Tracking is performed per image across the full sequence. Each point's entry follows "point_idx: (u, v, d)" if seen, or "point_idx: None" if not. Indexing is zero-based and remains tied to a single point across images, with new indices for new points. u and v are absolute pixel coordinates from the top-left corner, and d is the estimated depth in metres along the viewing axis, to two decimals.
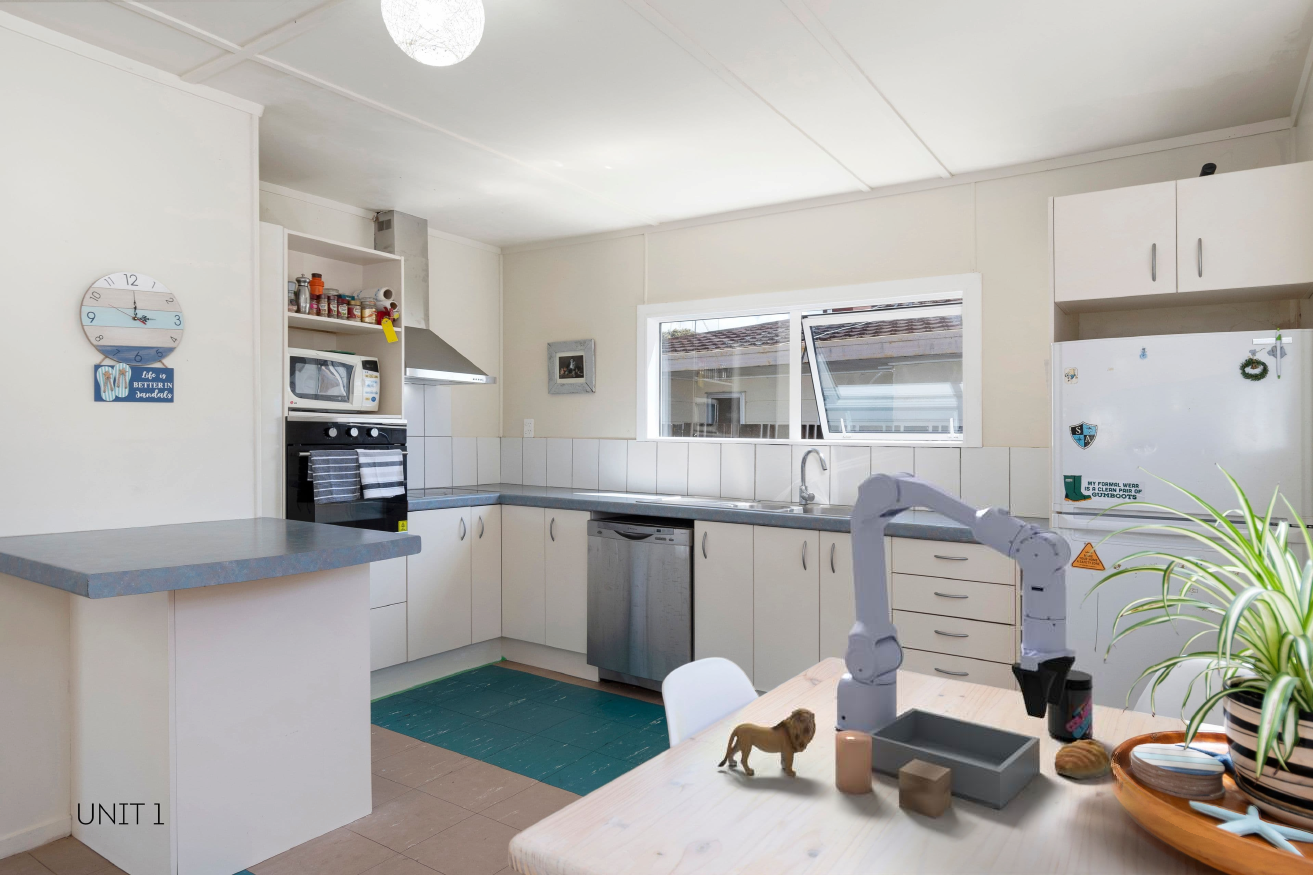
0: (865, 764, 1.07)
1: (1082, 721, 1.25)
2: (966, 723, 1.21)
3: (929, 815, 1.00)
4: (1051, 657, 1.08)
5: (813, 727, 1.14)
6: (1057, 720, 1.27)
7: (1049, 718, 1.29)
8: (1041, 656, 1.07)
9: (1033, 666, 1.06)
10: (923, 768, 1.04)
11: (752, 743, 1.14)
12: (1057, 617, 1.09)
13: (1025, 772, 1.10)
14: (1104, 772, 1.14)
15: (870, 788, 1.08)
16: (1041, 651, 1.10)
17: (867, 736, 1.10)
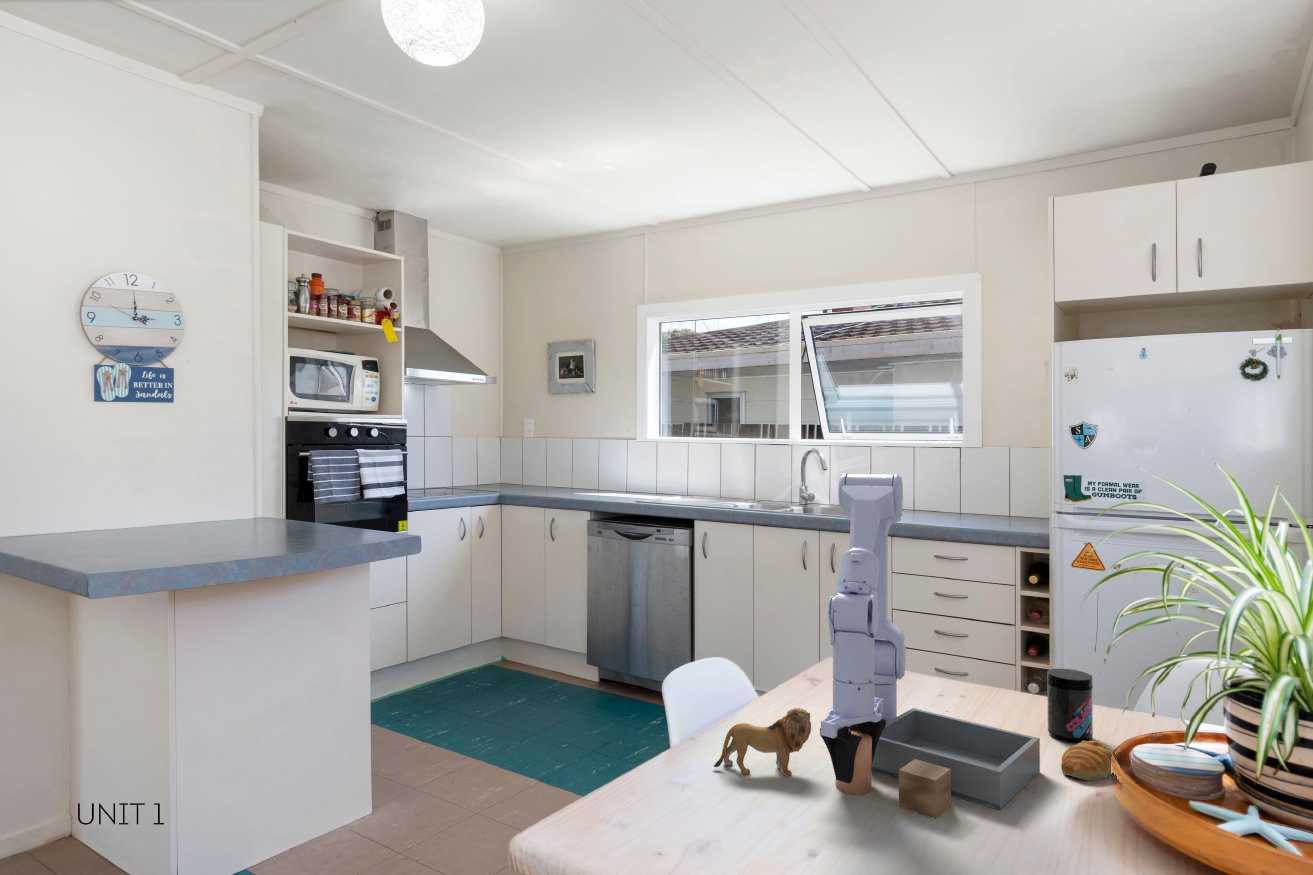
0: (865, 763, 1.07)
1: (1082, 721, 1.25)
2: (966, 723, 1.21)
3: (929, 815, 1.00)
4: (854, 723, 1.06)
5: (809, 727, 1.14)
6: (1057, 720, 1.27)
7: (1049, 718, 1.29)
8: (841, 722, 1.05)
9: (831, 733, 1.04)
10: (923, 768, 1.04)
11: (748, 743, 1.14)
12: (839, 678, 1.08)
13: (1025, 772, 1.10)
14: (1110, 773, 1.13)
15: (870, 788, 1.08)
16: (846, 716, 1.07)
17: (867, 736, 1.10)
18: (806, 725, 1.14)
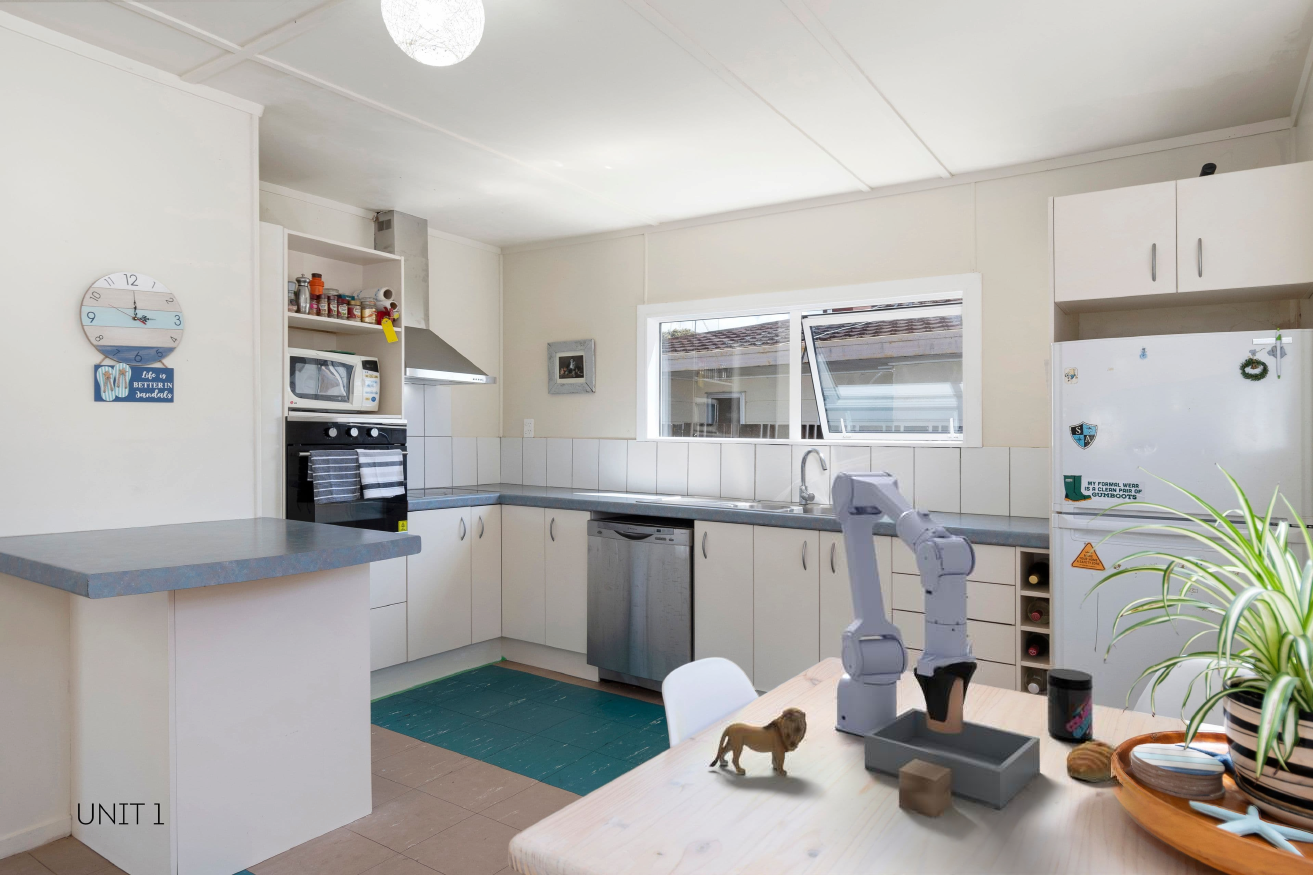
0: (958, 703, 1.09)
1: (1082, 721, 1.25)
2: (966, 723, 1.21)
3: (929, 815, 1.00)
4: (949, 662, 1.08)
5: (804, 726, 1.14)
6: (1057, 720, 1.27)
7: (1049, 718, 1.29)
8: (937, 661, 1.07)
9: (928, 671, 1.06)
10: (924, 768, 1.04)
11: (743, 743, 1.14)
12: (945, 622, 1.09)
13: (1025, 772, 1.10)
14: None
15: (962, 727, 1.10)
16: (940, 656, 1.09)
17: (957, 677, 1.12)
18: (801, 725, 1.14)
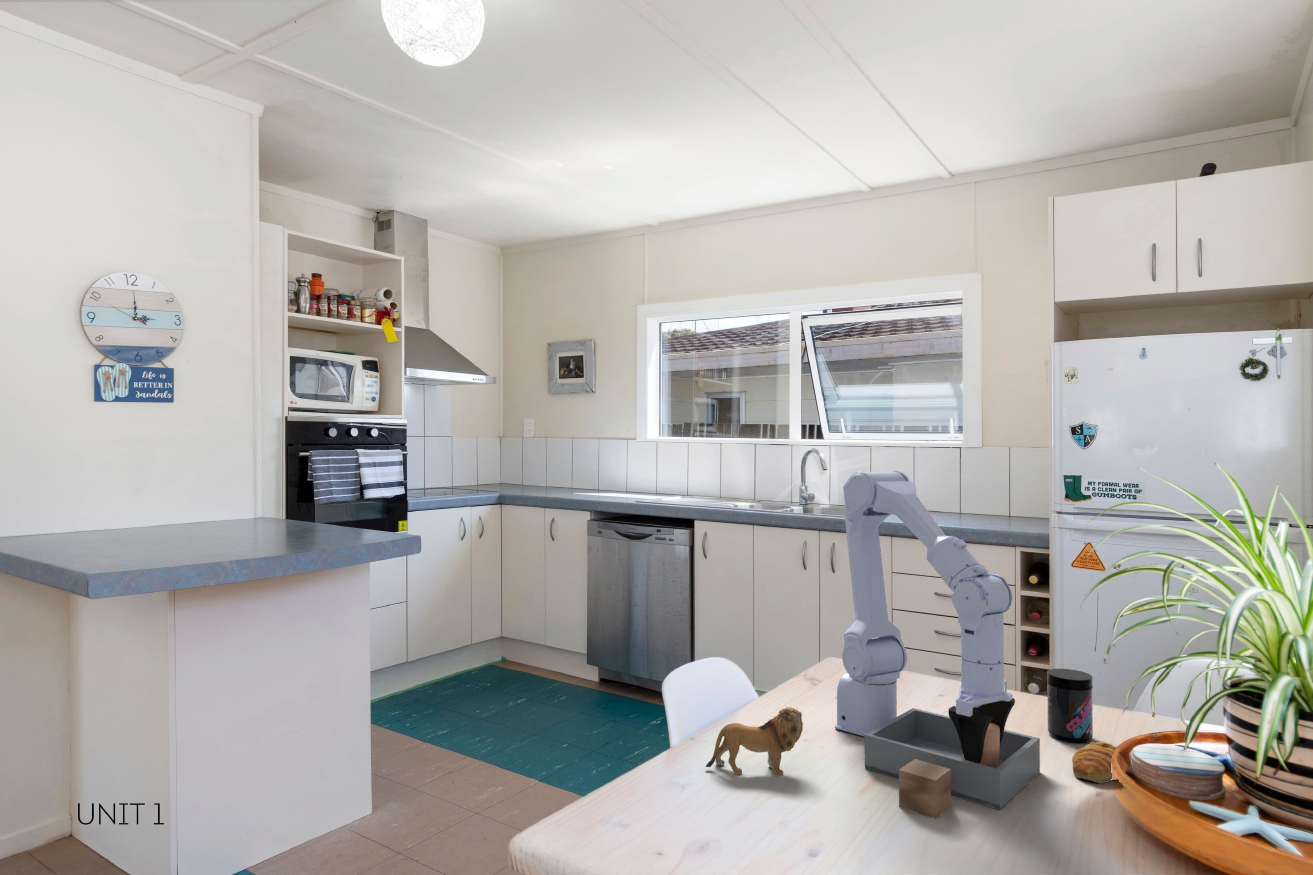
0: (996, 751, 1.10)
1: (1082, 721, 1.25)
2: None
3: (929, 815, 1.00)
4: (987, 702, 1.08)
5: (800, 726, 1.14)
6: (1057, 720, 1.27)
7: (1049, 718, 1.29)
8: (976, 701, 1.07)
9: (968, 712, 1.06)
10: (924, 768, 1.04)
11: (740, 743, 1.14)
12: (988, 661, 1.09)
13: (1025, 772, 1.10)
14: None
15: None
16: (978, 695, 1.10)
17: (993, 724, 1.12)
18: (798, 724, 1.14)
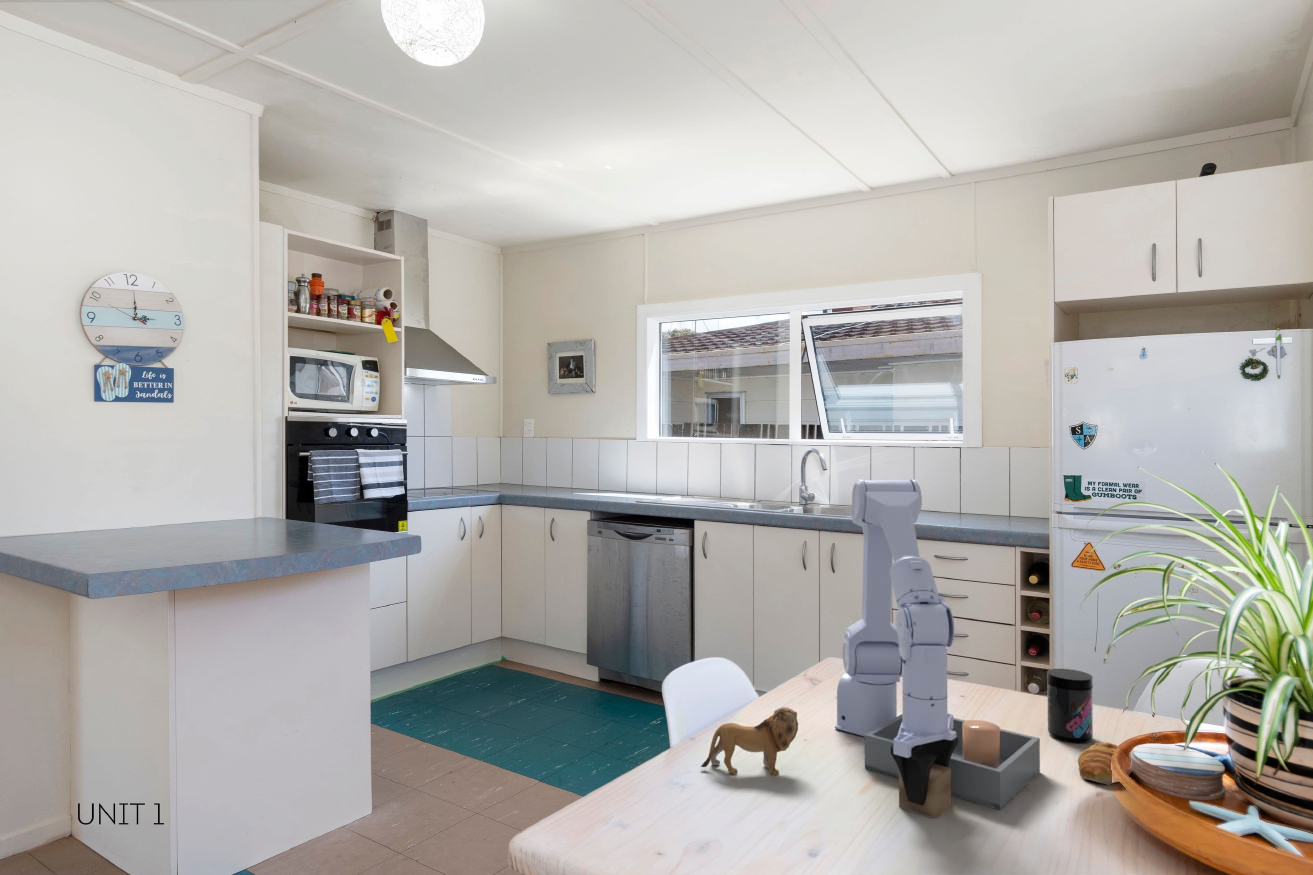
0: (996, 751, 1.10)
1: (1082, 721, 1.25)
2: None
3: (929, 814, 1.00)
4: (928, 741, 1.00)
5: (796, 726, 1.14)
6: (1057, 720, 1.27)
7: (1049, 718, 1.29)
8: (915, 741, 0.99)
9: (905, 752, 0.98)
10: None
11: (735, 743, 1.14)
12: (917, 695, 1.01)
13: (1025, 772, 1.10)
14: None
15: None
16: (918, 733, 1.01)
17: (993, 724, 1.12)
18: (793, 724, 1.14)
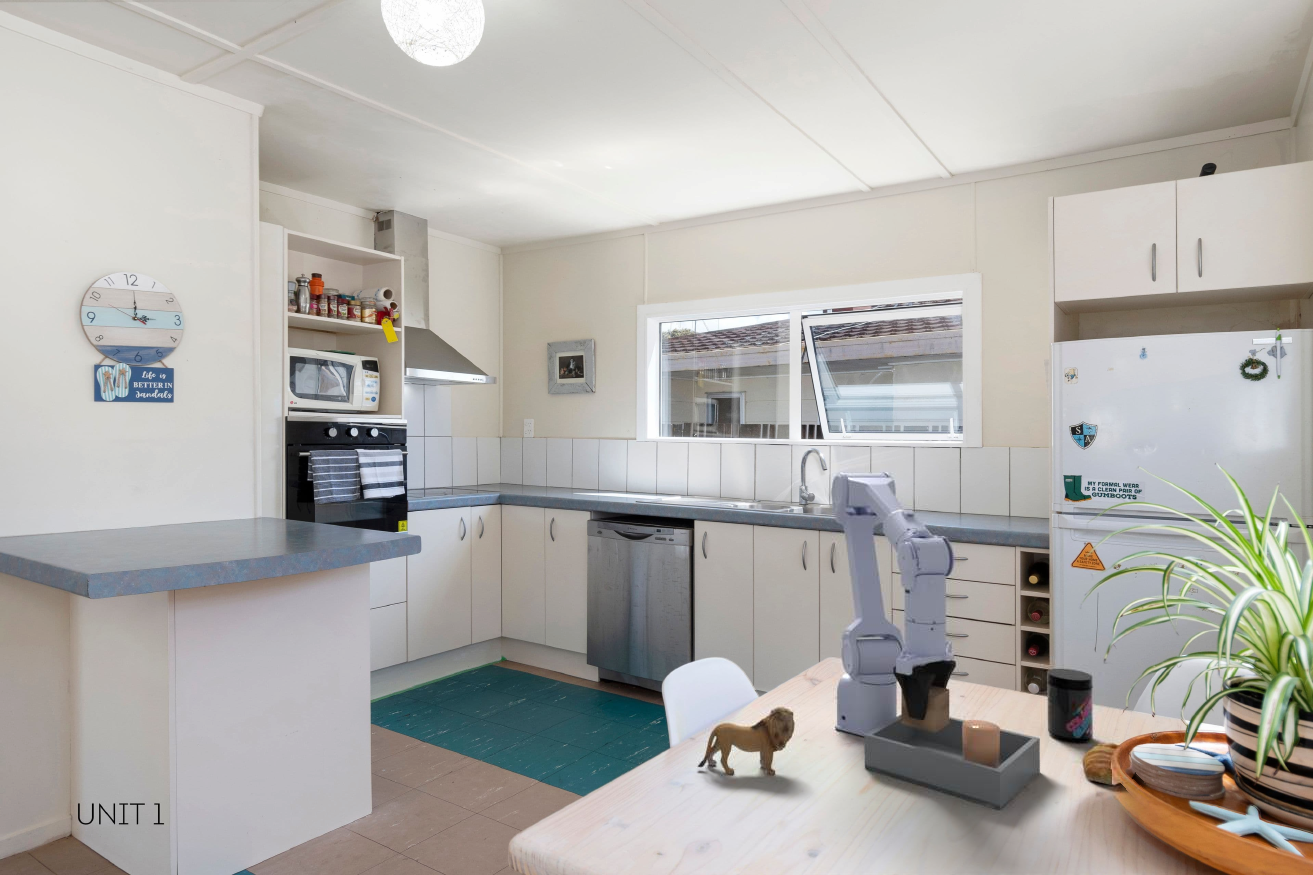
0: (996, 751, 1.10)
1: (1082, 721, 1.25)
2: None
3: (929, 729, 1.09)
4: (927, 661, 1.09)
5: (792, 725, 1.15)
6: (1057, 720, 1.27)
7: (1049, 718, 1.29)
8: (916, 660, 1.08)
9: (907, 670, 1.07)
10: None
11: (732, 743, 1.14)
12: (921, 621, 1.10)
13: (1025, 772, 1.10)
14: None
15: None
16: (919, 655, 1.10)
17: (993, 724, 1.12)
18: (790, 724, 1.14)
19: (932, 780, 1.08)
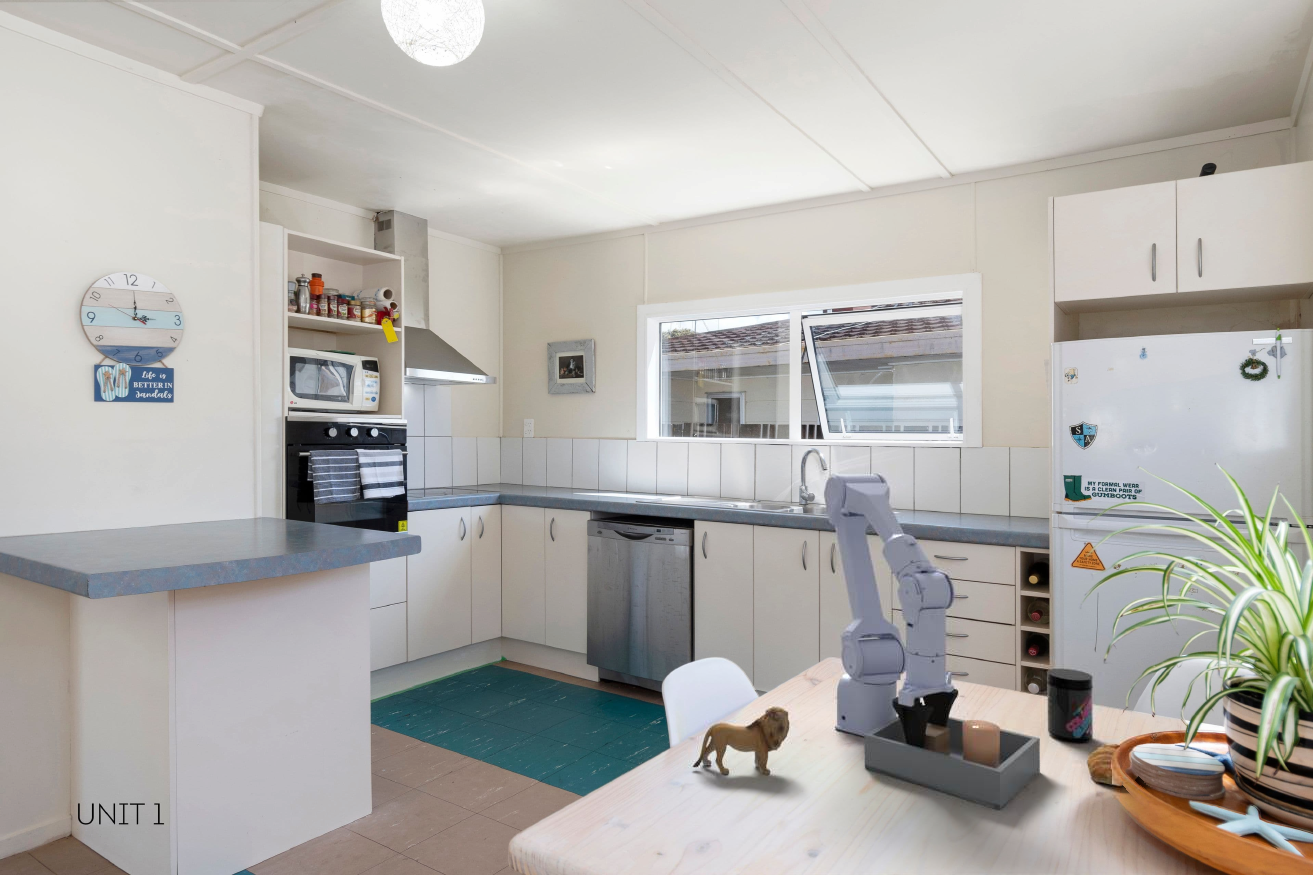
0: (996, 751, 1.10)
1: (1082, 721, 1.25)
2: None
3: None
4: (928, 693, 1.13)
5: (787, 725, 1.15)
6: (1057, 720, 1.27)
7: (1049, 718, 1.29)
8: (918, 692, 1.12)
9: (909, 702, 1.11)
10: None
11: (727, 743, 1.14)
12: (925, 654, 1.14)
13: (1025, 772, 1.10)
14: None
15: None
16: (920, 686, 1.14)
17: (993, 724, 1.12)
18: (784, 724, 1.14)
19: (932, 780, 1.08)
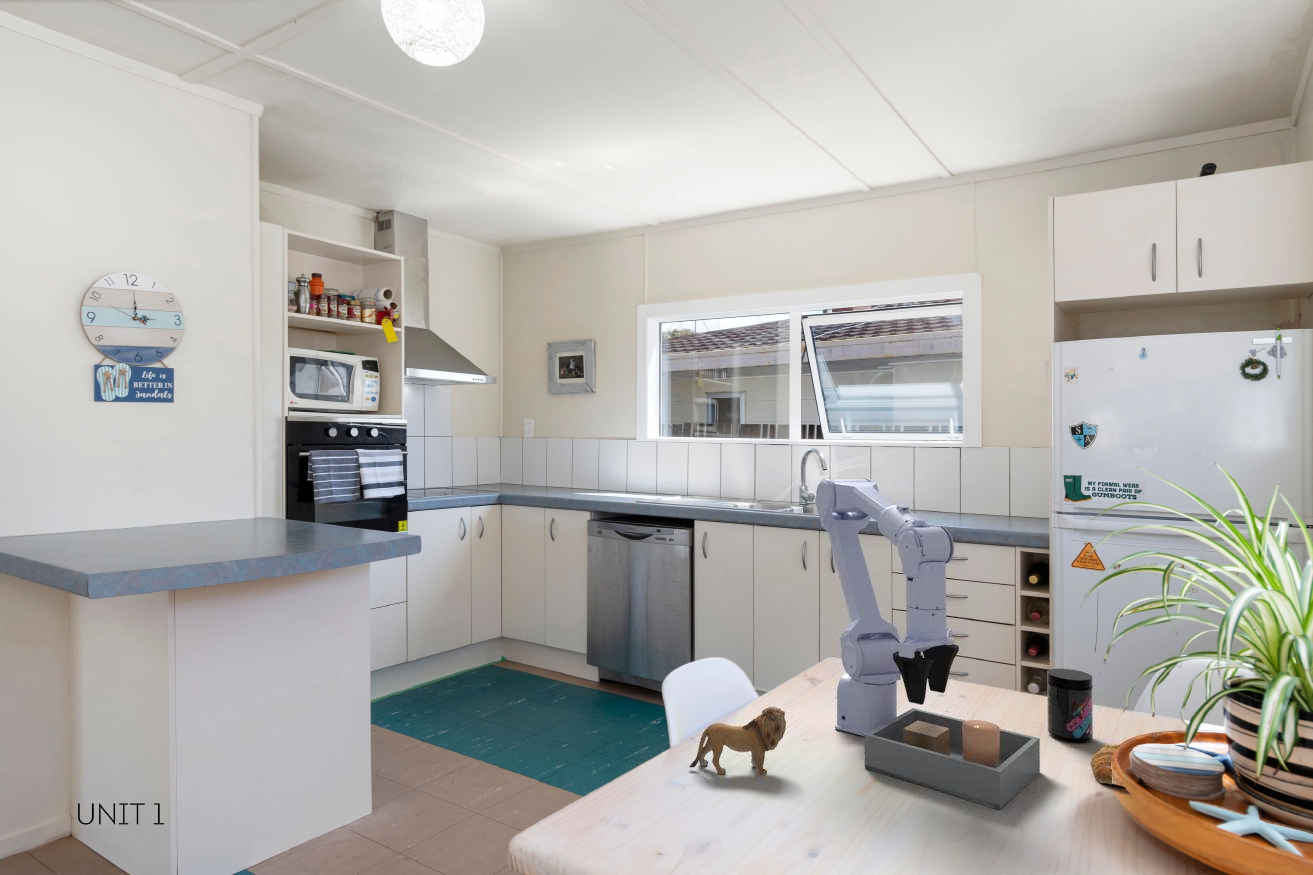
0: (996, 751, 1.10)
1: (1082, 721, 1.25)
2: None
3: None
4: (929, 645, 1.13)
5: (784, 725, 1.15)
6: (1057, 720, 1.27)
7: (1049, 718, 1.29)
8: (918, 644, 1.12)
9: (909, 654, 1.11)
10: (925, 727, 1.17)
11: (724, 743, 1.14)
12: (925, 607, 1.14)
13: (1025, 772, 1.10)
14: None
15: None
16: (921, 640, 1.14)
17: (993, 724, 1.12)
18: (781, 723, 1.14)
19: (932, 780, 1.08)
